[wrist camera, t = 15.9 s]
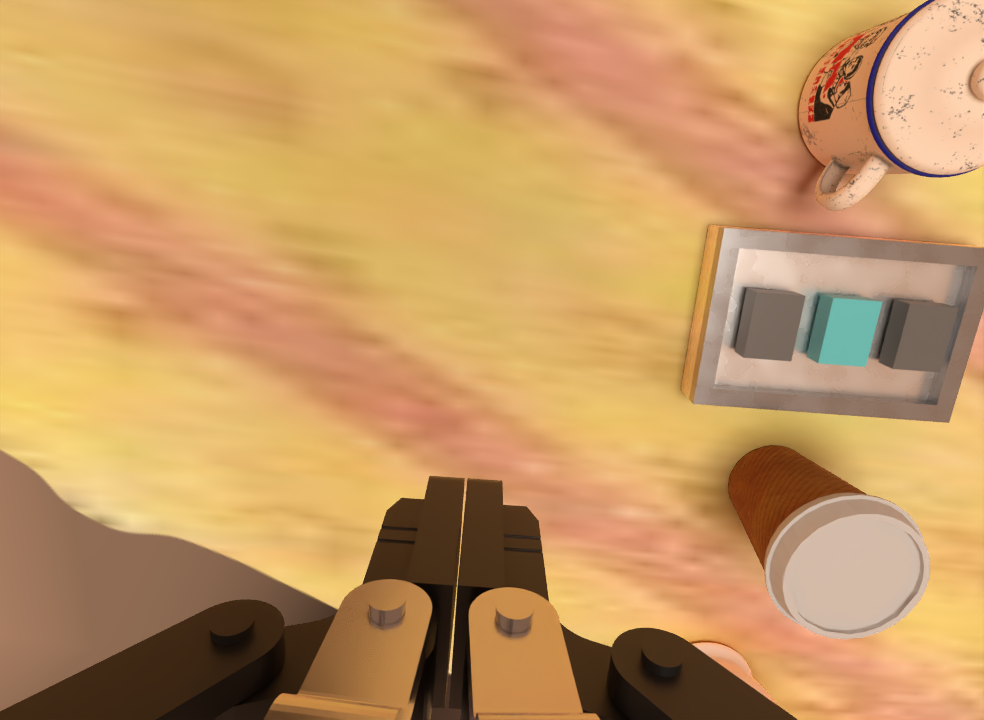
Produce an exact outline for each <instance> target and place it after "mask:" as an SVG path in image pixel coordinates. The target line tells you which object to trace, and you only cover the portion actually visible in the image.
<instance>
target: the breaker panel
mask: <svg viewBox="0 0 984 720" xmlns="http://www.w3.org/2000/svg"><path fill="white" fill-rule="evenodd" d="M746 288H754V289H767V290H780V291H793V292H797V293H799V294H802V295H805V296H806V297H805V301H804V306H803V310H802V315H801V320H800V324H799V329H798V333H797V338H796V342H795V347H794V351H793V356H792V361H779V360H766V359H753V358H743V357H742V356H740V355H739V354H737V353H736V352H735V346H736V341H737V335H738V330H739V325H740V320H741V315H742V309H743V304H744V299H745V294H746ZM821 294H832V295H845V296H858V297H869V298H872V299H875V300H879V301H882V306H881V310H880V314H879V317H878V321H877V325H876V329H875V333H874V337H873V341H872V345H871V349H870V353H869V357H868V361H867V364H866V367H859V366H846V365H833V364H819V363H817V362H815V361H813V360H811V359H809V358H808V357H807V352H808V348H809V343H810V339H811V335H812V330H813V326H814V321H815V317H816V312H817V308H818V304H819V299H820V295H821ZM895 299H897V300H910V301H923V302H936V303H944V304H948V305H951V306H955V307H959V309H958V313H957V316H956V320H955V323H954V326H953V330H952V333H951V337H950V340H949V344H948V347H947V351H946V354H945V357H944V361H943V364H942V368H941V371H940V372H926V371H913V370H899V369H892V368H889V367H887V366H885V365H883V364H881V363H879V362H878V361H879V357H880V353H881V350H882V346H883V342H884V338H885V334H886V330H887V327H888V323H889V319H890V315H891V311H892V307H893V304H894V300H895ZM983 308H984V247H979V246H971V245H962V244H949V243H936V242H923V241H911V240H898V239H885V238H872V237H860V236H847V235H834V234H821V233H809V232H796V231H783V230H770V229H758V228H745V227H732V226H719V225H709V226H708V232H707V238H706V244H705V250H704V256H703V262H702V268H701V273H700V279H699V285H698V291H697V297H696V303H695V309H694V315H693V320H692V326H691V332H690V338H689V344H688V350H687V356H686V362H685V368H684V373H683V379H682V385H681V391H682V392H683V393H684V394H685V395H686V396H687V397H688V399H689V400H690V401H691V402H692V403H693V404H702V405H716V406H729V407H743V408H757V409H770V410H784V411H797V412H811V413H825V414H838V415H852V416H865V417H879V418H892V419H906V420H920V421H933V422H947V423H949V421H950V418H951V414H952V411H953V408H954V404H955V401H956V398H957V394H958V391H959V388H960V384H961V381H962V378H963V375H964V371H965V368H966V365H967V361H968V358H969V355H970V351H971V348H972V345H973V341H974V338H975V335H976V332H977V328H978V325H979V322H980V318H981V315H982V312H983Z"/></svg>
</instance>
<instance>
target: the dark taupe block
mask: <svg viewBox="0 0 984 720" xmlns="http://www.w3.org/2000/svg"><path fill="white" fill-rule="evenodd" d="M958 309H959V307H955V306H951V305H948V304H944V303H936V302H923V301H910V300H897V299H895V300H894V304H893V307H892V311H891V315H890V319H889V323H888V327H887V330H886V334H885V338H884V342H883V346H882V350H881V353H880V357H879V361H878V362H879V363H881V364H883V365H885V366H887V367H889V368H892V369H899V370H913V371H926V372H940V371H941V368H942V364H943V361H944V357H945V354H946V351H947V347H948V344H949V340H950V337H951V333H952V330H953V326H954V323H955V320H956V316H957V313H958Z"/></svg>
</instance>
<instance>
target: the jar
mask: <svg viewBox="0 0 984 720" xmlns="http://www.w3.org/2000/svg"><path fill="white" fill-rule="evenodd" d="M692 645H694V646H695V647H696V648H698V649H699V650H701V651H702V652H704V653H705V654H706V655H708V656H709V657H711V658H712V659H713V660H715V661H716V662H718V663H719V664H720V665H722V666H723V667H725V668H726V669H727V670H729V671H730V672H732V673H733V674H734V675H736V676H737V677H739V678H740V679H741V680H743V681H744V682H746V683H747V684H748V685H750V686H751V687H753V688H754V689H755V690H757V691H758V692H760V693H761V694H762V695H764V696H765V697H767V698H768V699H769V700H771V701H772V702H774V703H775V701H774V700H773V699H772V697H771V696H770V695H769V693H768V692H767V691H766V690H765V689H764V688H763V687H762V686H761V685H760V684H759V683H758V682H757V681H756V680H755V679H754V678H752V673H751V670H750V668H749V666H748V664H747V662H746V661H745V660H744V658H743V657H742V656H741V655H740V654H739V653H737V652H736V651H735V650H733V649H731V648H729V647H727V646H724V645H721V644H717V643H710V642H701V643H694V644H692ZM775 704H776V703H775ZM776 705H777V704H776Z"/></svg>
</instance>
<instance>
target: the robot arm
mask: <svg viewBox="0 0 984 720" xmlns="http://www.w3.org/2000/svg"><path fill="white" fill-rule="evenodd" d="M464 479H465V478H453V477H439V476H430V477H429V481H428V485H427V490H426V494H425V499H410V498H401V499H400V500H399V501H397V502H396V503H395V504H394V505H393V506H392V507H390V508H389V509H388V510H387V512H386V515H385V518H384V521H383V524H382V529H381V530H380V533H379V536H378V540H377V542H376V545H375V548H374V551H373V554H372V557H371V560H370V563H369V566H368V569H367V572H366V575H365V578H364V581H363V584H362V585H360V586H359V587H357V588H355V589H354V590H352V591H351V592H350V593H349V594H348V595H347V596H346V597H345V598H344V600H343V602H342V603H341V605H340V608H339V610H338V612H337V614H335V615H333V616H331V617H329V618H326V619H323V620H320V621H314V622H310V623H303V624H297V625H291V626H284V619H283V616H282V614H281V612H280V611H279V610H278V609H277V608H275V607H274V606H272V605H270V604H268V603H266V602H262V601H258V600H234V601H229V602H225V603H221V604H218V605H215V606H213V607H210V608H208V609H206V610H204V611H202V612H200V613H198V614H196V615H194V616H192V617H190V618H188V619H186V620H184V621H182V622H180V623H178V624H176V625H174V626H172V627H170V628H168V629H166V630H164V631H162V632H160V633H158V634H156V635H154V636H152V637H150V638H148V639H146V640H144V641H142V642H140V643H137V644H135V645H133V646H131V647H130V648H127V649H126V650H123V651H122V652H119V653H117V654H115V655H113V656H111V657H109V658H107V659H105V660H103V661H101V662H99V663H97V664H95V665H93V666H91V667H89V668H87V669H85V670H83V671H81V672H79V673H77V674H75V675H73V676H71V677H69V678H67V679H65V680H63V681H61V682H59V683H57V684H55V685H53V686H51V687H49V688H47V689H45V690H43V691H41V692H39V693H37V694H35V695H33V696H31V697H29V698H27V699H25V700H23V701H21V702H19V703H16V704H14V705H13V706H11V707H9V708H6V709H5V710H2V711H0V720H430V719H431V711H432V707H434V708H445V701H446V691H447V681H448V670H449V660H450V649H451V639H452V629H453V618H454V608H455V597H456V587H457V576H458V565H459V552H460V538H461V524H462V510H463V495H464ZM540 537H541V536H540V529H539V521H538V520H537V519H536V517H535V516H534V515H533V514H532V513H531V511H530V510H529V509H528V508H527V507H525V506H510V505H503V487H502V481H497V480H483V479H469V478H468V480H467V491H466V501H465V512H464V523H463V534H462V544H461V555H460V566H459V577H458V588H457V602H456V616H455V631H454V645H453V659H452V673H451V688H450V702H449V708H454V709H461V717H460V720H797V719H796V718H795V717H793V716H792V715H790V714H789V713H788V712H786V711H785V710H783V709H782V708H781V707H779V706H778V705H776V704H775V703H774V702H772V701H771V700H769V699H768V698H767V697H765V696H764V695H762V694H761V693H760V692H758V691H757V690H755V689H754V688H753V687H751V686H750V685H748V684H747V683H746V682H744V681H743V680H741V679H740V678H739V677H737V676H736V675H734V674H733V673H732V672H730V671H729V670H727V669H726V668H725V667H723V666H722V665H720V664H719V663H718V662H716V661H715V660H713V659H712V658H711V657H709V656H708V655H706V654H705V653H704V652H702V651H701V650H699V649H698V648H696V647H695V646H694V645H692V644H691V643H689V642H688V641H686V640H685V639H683V638H681V637H679V636H677V635H675V634H673V633H670V632H667V631H664V630H660V629H654V628H636V629H632V630H628V631H626V632H624V633H622V634H621V635H620V636H618V638H617V639H616V640H615V641H614V644H613V646H612V647H609V646H606V645H603V644H600V643H597V642H593V641H590V640H588V639H585V638H582V637H580V636H578V635H576V634H574V633H573V632H571V631H570V630H568V629H567V628H566V627H564V626H563V625H562V624H561V623H560V621H559V617H558V614H557V612H556V610H555V608H554V607H553V606H552V605H551V604H550V602H549V599H548V591H547V583H546V575H545V568H544V560H543V553H542V544H541V540H540Z"/></svg>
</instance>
